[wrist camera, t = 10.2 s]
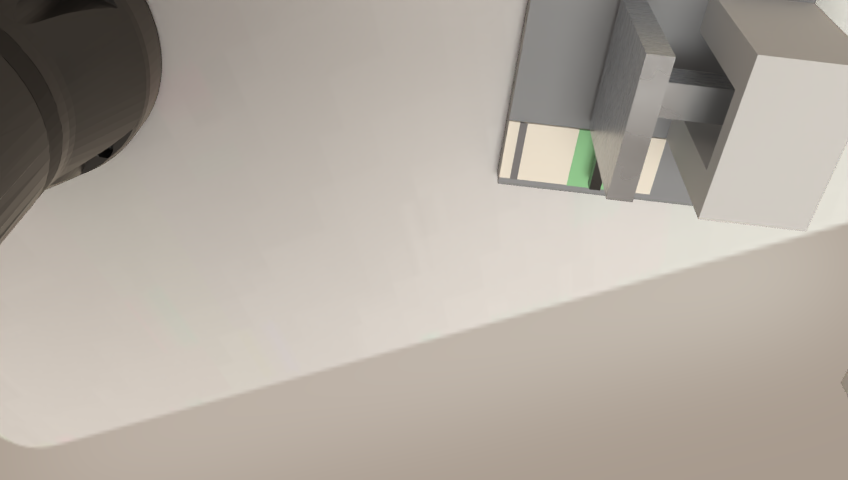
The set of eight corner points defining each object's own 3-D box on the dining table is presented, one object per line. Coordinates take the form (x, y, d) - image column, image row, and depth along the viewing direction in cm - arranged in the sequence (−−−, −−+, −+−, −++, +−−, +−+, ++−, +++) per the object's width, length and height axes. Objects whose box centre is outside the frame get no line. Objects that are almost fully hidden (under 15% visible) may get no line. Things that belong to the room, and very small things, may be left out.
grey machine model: (576, 179, 44) (590, 255, 38) (621, -4, 38) (646, 53, 32) (767, 201, 44) (810, 280, 38) (841, 22, 38) (905, 84, 33)
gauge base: (497, 172, 46) (500, 266, 39) (542, -80, 38) (557, -20, 31) (728, 199, 47) (775, 298, 39) (822, -47, 38) (903, 21, 31)
